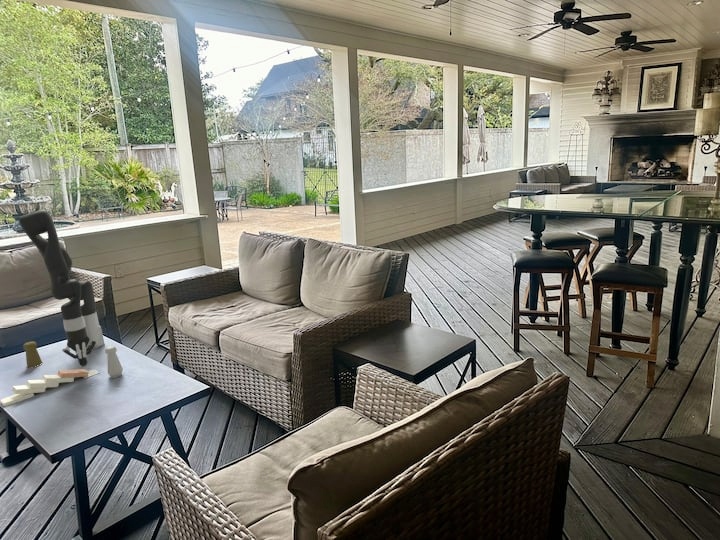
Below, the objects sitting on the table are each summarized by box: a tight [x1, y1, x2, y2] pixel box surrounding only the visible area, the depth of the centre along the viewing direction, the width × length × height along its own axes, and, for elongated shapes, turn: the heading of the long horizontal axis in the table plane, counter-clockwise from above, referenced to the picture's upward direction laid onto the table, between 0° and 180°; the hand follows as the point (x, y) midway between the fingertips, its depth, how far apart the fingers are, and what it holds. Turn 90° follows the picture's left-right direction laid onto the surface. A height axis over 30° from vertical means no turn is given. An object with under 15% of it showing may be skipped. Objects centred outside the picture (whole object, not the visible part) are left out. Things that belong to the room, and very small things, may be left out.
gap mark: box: [82, 368, 100, 379], centre depth 212 cm, size 6×6×1 cm
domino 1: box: [0, 393, 35, 407], centre depth 194 cm, size 2×5×10 cm
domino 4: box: [42, 374, 75, 383], centre depth 204 cm, size 2×5×10 cm
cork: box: [22, 341, 43, 369], centre depth 225 cm, size 6×6×11 cm
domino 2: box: [11, 384, 47, 395], centre depth 196 cm, size 2×5×10 cm
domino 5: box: [57, 368, 89, 378], centre depth 208 cm, size 2×5×10 cm
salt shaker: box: [104, 345, 124, 379], centre depth 207 cm, size 6×6×13 cm
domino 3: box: [25, 379, 60, 388], centre depth 200 cm, size 2×5×10 cm
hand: (83, 365), depth 210 cm, fingers closed
